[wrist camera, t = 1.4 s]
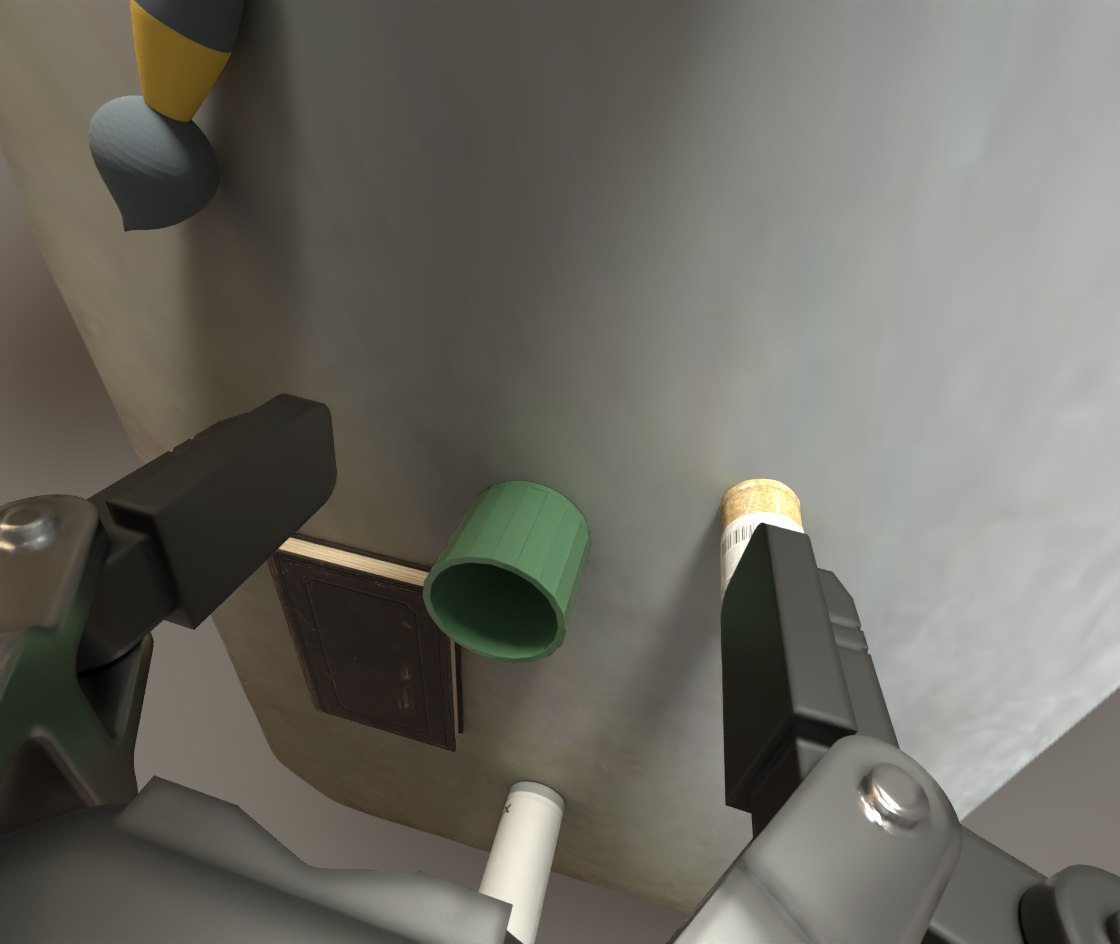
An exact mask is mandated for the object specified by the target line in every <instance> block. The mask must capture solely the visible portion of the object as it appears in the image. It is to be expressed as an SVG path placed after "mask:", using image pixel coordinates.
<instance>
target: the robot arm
mask: <svg viewBox="0 0 1120 944" xmlns="http://www.w3.org/2000/svg"><path fill="white" fill-rule="evenodd" d="M336 478H337V469H336V459H335V449H334V439H333V429H332V419H331V413H330V410H329V408H328V407H327V406H326V405H325V404H323V403H319V402H316V401H312V400H308V399H304V398H301V397H297V396H293V395H289V394H280V395H278V396H276V397H274V398H272V399H271V400H269V401H267V402H266V403H264V404H263V405H261V406H259V407H258V408H256V409H254V410H253V411H251V412H247V413H244V414H241V415H238V416H235V417H231V418H228V419H225V420H222V421H219V422H217V423H215V424H214V425H212V426H210V427H209V428H207V429H205V430H204V431H202V432H200V433H198V434H197V435H195V436H194V439H193V440H192V439H188V440H187V441H185V442H183V443H181V444H180V445H178V446H176V447H175V448H174V450H173V452H169V451H168V452H166V453H165V454H163V455H161V456H159V457H158V458H156V459H154V460H153V461H151V462H149V463H148V464H146V465H144V466H142V467H141V468H139V469H137V470H136V471H134V472H132V473H131V474H129V475H127V476H126V477H124V478H122V479H120V480H119V481H117V482H115V483H114V484H112V485H110V486H108V487H107V488H105V489H103V490H102V491H100V492H99V493H97V494H95V495H93V496H92V497H90V498H88V499H84V498H81V497H78V496H72V495H58V494H55V495H42V496H35V497H30V498H25V499H21V500H17V501H14V502H10V503H7V504H4V505H1V506H0V944H523V943H522V942H521V941H520V940H518V939H517V938H516V937H515V936H514V935H512V934H511V933H510V932H509V931H507V927H508V923H509V919H510V915H511V911H512V907H513V904H510V903H507V902H505V901H502V900H499V899H496V898H493V897H491V896H488V895H485V894H482V893H480V892H477V891H474V890H471V889H468V888H466V887H463V886H460V885H457V884H455V883H452V882H449V881H446V880H443V879H440V878H438V877H435V876H432V875H430V874H427V873H424V872H421V871H402V870H401V871H400V870H366V869H328V868H316V867H312V866H310V865H307V864H306V863H304V862H303V861H302V860H300V859H299V858H298V857H297V856H296V855H294V854H293V853H292V852H291V851H290V850H289V849H287V848H286V847H285V846H284V845H283V844H282V843H281V842H279V841H278V840H277V839H276V838H275V837H274V836H272V835H271V834H270V833H269V832H268V831H267V830H265V829H264V828H263V827H262V826H261V825H260V824H258V823H257V822H256V821H255V820H254V819H253V818H251V817H250V816H249V815H248V814H247V813H246V812H244V811H243V810H242V809H241V808H240V807H239V806H237V805H235V804H232V803H229V802H227V801H224V800H221V799H218V798H215V797H212V796H210V795H207V794H204V793H202V792H198V791H196V790H193V789H190V788H188V787H185V786H182V785H179V784H177V783H173V782H171V781H168V780H165V779H163V778H160V777H157V776H153V777H152V778H151V779H150V781H149V782H148V783H147V784H146V785H145V787H144V788H143V789H142V790H141V791H140V792H139V793H138V788H137V782H136V776H135V771H134V749H135V743H136V738H137V732H138V726H139V721H140V715H141V710H142V705H143V700H144V695H145V689H146V684H147V678H148V673H149V667H150V662H151V657H152V652H153V643H154V641H153V637H152V634H151V632H150V631H152V630H153V629H154V628H155V627H156V626H157V625H158V624H159V623H161V622H162V621H163V620H166V621H169V622H172V623H175V624H178V625H181V626H184V627H187V628H190V629H193V630H195V629H196V628H197V627H198V626H199V625H200V624H201V623H202V622H203V621H204V620H205V619H206V618H207V617H208V616H209V615H210V614H211V613H212V612H213V611H214V610H215V609H216V608H217V607H218V606H219V605H220V604H222V603H223V602H224V601H225V600H226V599H227V598H228V597H229V596H230V595H231V594H232V593H233V592H234V591H235V590H236V589H237V588H238V587H239V586H240V585H241V584H242V583H243V582H244V581H245V580H246V579H247V578H248V577H249V576H250V575H252V574H253V573H254V572H255V571H256V570H257V569H258V568H259V567H260V566H261V565H262V564H263V563H264V562H265V561H266V560H267V559H268V558H269V557H270V556H271V555H272V554H273V553H274V552H275V551H276V550H277V549H278V548H279V547H280V546H282V545H283V544H284V543H285V542H286V541H287V540H288V539H289V538H290V537H291V536H292V535H293V534H294V533H295V532H296V531H297V530H298V529H299V528H300V527H301V526H302V525H303V524H304V523H305V522H306V521H307V520H308V519H309V518H311V517H312V516H313V515H314V514H315V513H316V512H317V511H318V510H319V509H320V508H321V507H322V506H323V505H324V504H325V503H326V502H327V500H328V499H329V497H330V496H331V494H332V492H333V489H334V487H335V483H336ZM860 627H861V623H860V620H859V617H858V614H857V610H856V607H855V604H854V601H853V598H852V597H851V595H850V594H849V593H848V592H847V590H846V589H845V588H844V586H843V585H842V584H841V582H840V581H839V580H838V578H837V577H836V576H835V574H834V573H833V572H831V571H827V570H824V569H820V568H817V565H816V561H815V557H814V553H813V549H812V545H811V541H810V538H809V536H808V535H807V534H805V533H801V532H797V531H794V530H790V529H786V528H782V527H779V526H775V525H771V524H767V523H764V522H761V523H759V524H758V525H757V527H756V528H755V530H754V532H753V534H752V536H751V538H750V540H749V542H748V544H747V546H746V548H745V550H744V552H743V554H742V556H741V558H740V560H739V563H738V565H737V567H736V569H735V571H734V573H733V575H732V577H731V579H730V581H729V583H728V585H727V588H726V591H725V594H724V598H723V603H722V608H721V651H722V689H723V726H724V764H725V801H726V805H727V806H730V807H733V808H736V809H739V810H742V811H745V812H749V813H752V829H753V838H752V840H751V841H750V842H749V843H748V844H747V845H746V847H745V848H744V849H743V850H742V852H741V853H740V854H739V855H738V856H737V858H736V859H735V860H734V861H733V863H732V864H731V865H730V866H729V867H728V869H727V870H726V871H725V872H724V874H723V875H722V876H721V877H720V878H719V880H718V881H717V882H716V883H715V885H714V886H713V887H712V888H711V889H710V891H709V892H708V893H707V894H706V896H705V897H704V898H703V899H702V900H701V902H700V903H699V904H698V905H697V907H696V908H695V909H694V910H693V911H692V913H691V914H690V915H689V916H688V918H687V919H686V920H685V921H684V922H683V924H682V925H681V926H680V927H679V929H678V930H677V931H676V932H675V933H674V935H673V936H672V937H671V938H670V940H669V941H668V942H667V943H666V944H1120V877H1119V876H1117V875H1115V874H1112V873H1110V872H1108V871H1105V870H1103V869H1100V868H1096V867H1093V866H1088V865H1072V866H1069V867H1067V868H1065V869H1063V870H1061V871H1060V872H1058V873H1056V874H1054V875H1052V876H1051V877H1049V878H1047V877H1046V876H1044V875H1043V874H1041V873H1039V872H1038V871H1036V870H1034V869H1033V868H1031V867H1029V866H1028V865H1026V864H1024V863H1023V862H1021V861H1019V860H1018V859H1016V858H1015V857H1013V856H1011V855H1009V854H1008V853H1006V852H1005V851H1003V850H1001V849H1000V848H998V847H996V846H995V845H993V844H991V843H989V842H988V841H987V840H985V839H983V838H981V837H980V836H978V835H977V834H975V833H974V832H972V831H971V830H969V829H968V828H966V827H965V826H963V825H962V824H960V823H959V820H958V817H957V814H956V812H955V810H954V808H953V806H952V804H951V802H950V801H949V799H948V797H947V796H946V794H945V793H944V791H943V790H942V788H941V787H940V786H939V785H938V783H937V782H936V781H935V779H934V778H933V777H932V776H931V775H930V774H929V773H928V772H927V771H926V770H925V769H924V768H923V767H922V766H921V765H920V764H919V763H918V762H916V761H915V760H914V759H913V758H911V757H910V756H909V755H907V754H906V753H905V752H903V751H902V750H900V748H899V745H898V742H897V739H896V735H895V732H894V729H893V726H892V723H891V719H890V716H889V713H888V710H887V707H886V703H885V700H884V697H883V694H882V690H881V687H880V684H879V681H878V678H877V674H876V671H875V668H874V665H873V662H872V658H871V655H870V654H867V651H868V646H867V642H866V639H865V636H864V633H863V631H861V630H860Z"/></svg>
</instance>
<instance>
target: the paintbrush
mask: <svg viewBox="0 0 1120 944" xmlns="http://www.w3.org/2000/svg"><path fill="white" fill-rule="evenodd" d="M244 3H245V0H130V6H131V16H132V26H133V35H134V42H135V50H136V57H137V64H138V71H139V77H140V83H141V88H142V93H143V96H124V97H119V98H116V99H114V100H111V101H109V102H107V103H106V104H104V105H103V106H102V107H100V108H99V109H98V110H97V112H96V113H95V115H94V116H93V118H92V120H91V123H90V126H89V134H88V138H89V146H90V150H91V153H92V157H93V159H94V162H95V164H96V167H97V169H98V171H99V173H100V175H101V177H102V179H103V181H104V182H105V184H106V186H107V188H108V189H109V191H110V193H111V195H112V196H113V198H114V200H115V202H116V204H117V205H118V208H119V210H120V212H121V215H122V218H123V225H124V231H125V232H126V231H130V230H150V229H160V228H165V227H169V226H172V225H175V224H178V223H180V222H182V221H184V220H186V219H188V218H190V217H191V216H193V215H194V214H196V213H197V212H199V211H200V210H201V209H202V208H203V207H205V206H206V204H207V203H208V202H209V201H210V200H211V199H212V197H213V196H214V194H215V192H216V190H217V187H218V183H219V167H218V162H217V158H216V155H215V153H214V150H213V148H212V146H211V144H210V142H209V141H208V139H207V137H206V136H205V135H204V133H203V132H202V131H201V129H200V128H199V127H198V126H197V125H196V124H195V123H194V122H193V121H192V120H191V118H192V117H193V116H194V114H195V113H196V112H197V110H198V109H199V107H200V106H201V104H202V103H203V101H204V100H205V98H206V97H207V95H208V94H209V92H210V90H211V89H212V87H213V85H214V84H215V82H216V80H217V79H218V77H219V75H220V74H221V72H222V70H223V68H224V66H225V65H226V63H227V61H228V59H229V57H230V55H231V53H232V51H233V48H234V45H235V41H236V38H237V34H238V30H239V26H240V22H241V17H242V12H243V8H244Z"/></svg>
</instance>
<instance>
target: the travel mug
mask: <svg viewBox="0 0 1120 944" xmlns="http://www.w3.org/2000/svg"><path fill="white" fill-rule="evenodd" d="M564 807H565V805H564V801H563V799H562V798H561V796H560V795H559V794H558V793H557V792H555V791H554V790H553V789H551V788H549V787H547V786H545V785H542V784H539V783H535V782H529V781H522V782H518V783H515V784H514V785H512V786H511V788H510V791H509V794H508V798H507V802H506V804H505V807H504V810H503V814H502V817H501V820H500V823H499V827H498V830H497V833H496V836H495V840H494V843H493V846H492V849H491V853H490V856H489V859H488V863H487V866H486V869H485V872H484V875H483V878H482V882H481V885H480V889H479V891H478V892H480V893H482V894H485V895H488V896H491V897H493V898H496V899H499V900H502V901H505V902H507V903H510V904H513V907H512V911H511V915H510V919H509V923H508V927H507V931H509V932H510V933H511V934H512V935H514V936H515V937H516V938H517V939H518V940H520V941H521V942H522V943H523V944H534V942H535V937H536V932H537V928H538V924H539V919H540V915H541V910H542V905H543V901H544V897H545V892H546V888H547V883H548V879H549V874H550V870H551V865H552V861H553V856H554V852H555V847H556V843H557V838H558V834H559V829H560V825H561V820H562V816H563V811H564Z"/></svg>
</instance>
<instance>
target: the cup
mask: <svg viewBox="0 0 1120 944" xmlns="http://www.w3.org/2000/svg"><path fill="white" fill-rule="evenodd" d="M590 546H591V537H590V531H589V528H588V525H587V523H586V521H585V519H584V517H583V516H582V514H581V512H580V511H579V510H578V509H577V508H576V506H575V505H574V504H573V503H571V502H570V501H569V500H568V499H567V498H566V497H564V496H563V495H561V494H560V493H558V492H556V491H555V490H553V489H551V488H549V487H546V486H543V485H541V484H537V483H533V482H528V481H505V482H501V483H497V484H495V485H492V486H490V487H488V488H487V489H485V490H484V491H483V492H481V493H480V494H479V495H478V497H477V498H476V499H475V501H474V502H473V504H472V505H471V507H470V509H469V510H468V512H467V513H466V515H465V517H464V518H463V520H462V521H461V523H460V524H459V526H458V528H457V529H456V531H455V532H454V534H453V536H452V537H451V539H450V540H449V542H448V543H447V545H446V547H445V548H444V550H443V551H442V553H441V555H440V556H439V558H438V559H437V561H436V562H435V564H434V566H433V567H432V569H431V570H430V572H429V574H428V575H427V577H426V578H425V580H424V586H423V599H424V602H425V605H426V608H427V611H428V613H429V615H430V616H431V618H432V619H433V620H434V622H435V623H436V625H437V626H438V627H439V628H440V629H441V630H442V631H443V632H444V633H445V634H446V635H447V636H449V637H450V638H451V639H452V640H453V641H454V642H456V643H458V644H459V645H461V646H463V647H464V648H466V649H468V650H470V651H471V652H473V653H475V654H478V655H481V656H484V657H487V658H490V659H492V660H497V661H504V662H511V663H523V662H534V661H537V660H540V659H542V658H545V657H547V656H550V655H551V654H552V653H553V652H554V651H555V650H556V649H557V648H558V647H560V646H561V644H562V642H563V639H564V636H565V633H566V630H567V627H568V624H569V620H570V617H571V613H572V610H573V607H574V603H575V600H576V596H577V593H578V590H579V586H580V583H581V579H582V576H583V573H584V569H585V566H586V562H587V559H588V556H589V551H590Z"/></svg>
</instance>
